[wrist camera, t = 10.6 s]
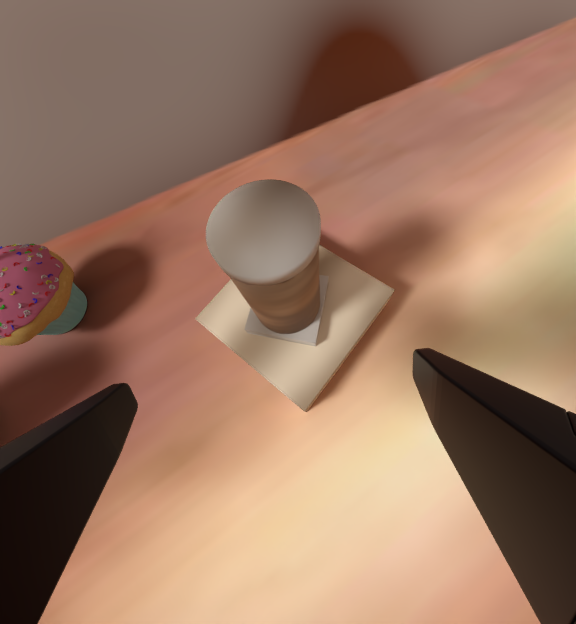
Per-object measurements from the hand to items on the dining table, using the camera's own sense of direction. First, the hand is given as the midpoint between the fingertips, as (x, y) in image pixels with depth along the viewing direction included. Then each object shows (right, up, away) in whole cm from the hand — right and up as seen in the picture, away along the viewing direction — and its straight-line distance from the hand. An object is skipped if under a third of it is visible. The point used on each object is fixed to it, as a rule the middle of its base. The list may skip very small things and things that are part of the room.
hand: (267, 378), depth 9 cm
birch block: (+1, +2, +15) cm, 16 cm away
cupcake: (-21, +2, +18) cm, 28 cm away
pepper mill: (+1, +2, +13) cm, 13 cm away
